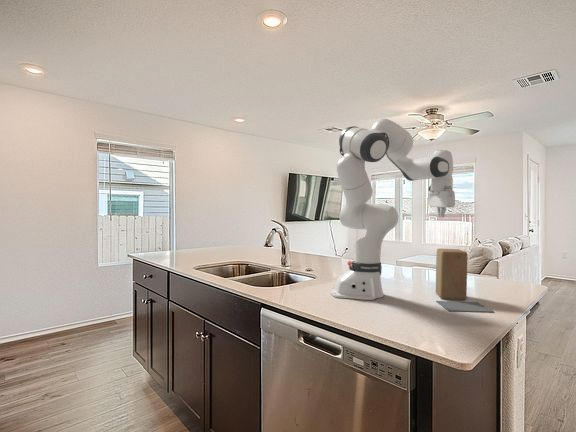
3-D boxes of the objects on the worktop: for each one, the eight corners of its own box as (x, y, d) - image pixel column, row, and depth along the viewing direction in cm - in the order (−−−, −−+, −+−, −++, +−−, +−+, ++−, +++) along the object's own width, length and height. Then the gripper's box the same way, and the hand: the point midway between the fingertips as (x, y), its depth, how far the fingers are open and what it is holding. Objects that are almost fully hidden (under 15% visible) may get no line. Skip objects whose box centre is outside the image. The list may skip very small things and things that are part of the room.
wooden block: (467, 301, 134) (468, 252, 134) (440, 299, 136) (441, 251, 136) (459, 294, 144) (460, 248, 143) (435, 293, 146) (436, 248, 145)
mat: (449, 311, 121) (449, 310, 121) (436, 301, 133) (436, 300, 133) (494, 312, 120) (494, 311, 120) (477, 302, 132) (477, 301, 132)
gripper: (459, 185, 139) (458, 218, 140) (439, 188, 160) (439, 216, 160) (444, 185, 139) (443, 218, 140) (426, 188, 160) (426, 216, 160)
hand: (441, 217), depth 150 cm, fingers closed
